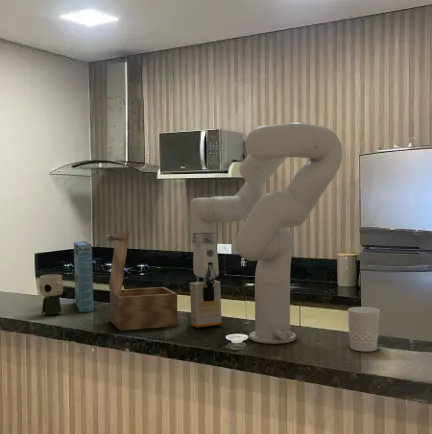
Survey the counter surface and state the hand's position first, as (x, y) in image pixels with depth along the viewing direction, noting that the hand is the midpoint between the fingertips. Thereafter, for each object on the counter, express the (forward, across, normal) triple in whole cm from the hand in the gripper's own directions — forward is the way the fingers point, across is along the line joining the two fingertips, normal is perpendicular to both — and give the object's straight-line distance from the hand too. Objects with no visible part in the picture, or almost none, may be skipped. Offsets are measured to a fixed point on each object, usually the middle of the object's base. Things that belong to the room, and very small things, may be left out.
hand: (205, 298), depth 179 cm
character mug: (+7, +37, +41) cm, 56 cm away
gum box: (+7, +47, +29) cm, 56 cm away
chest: (+8, +12, +16) cm, 22 cm away
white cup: (+10, -39, -29) cm, 50 cm away
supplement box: (+8, 0, 0) cm, 8 cm away
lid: (-12, +11, +23) cm, 28 cm away
